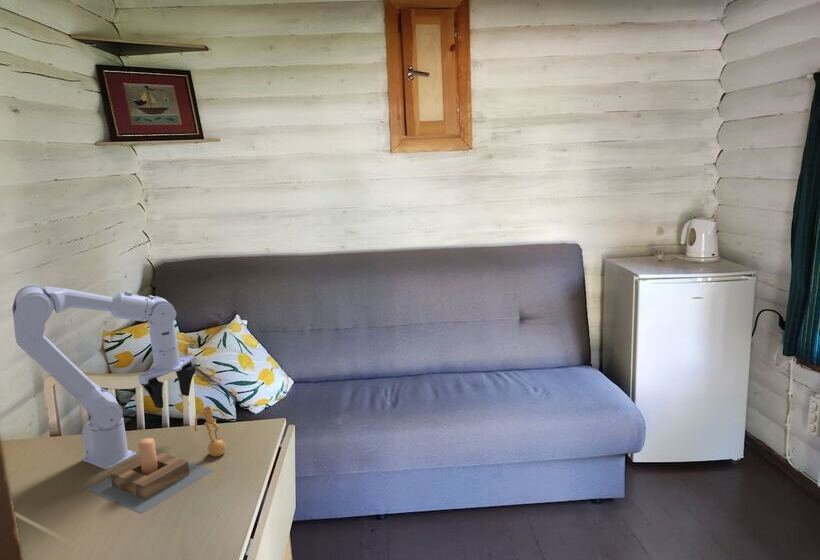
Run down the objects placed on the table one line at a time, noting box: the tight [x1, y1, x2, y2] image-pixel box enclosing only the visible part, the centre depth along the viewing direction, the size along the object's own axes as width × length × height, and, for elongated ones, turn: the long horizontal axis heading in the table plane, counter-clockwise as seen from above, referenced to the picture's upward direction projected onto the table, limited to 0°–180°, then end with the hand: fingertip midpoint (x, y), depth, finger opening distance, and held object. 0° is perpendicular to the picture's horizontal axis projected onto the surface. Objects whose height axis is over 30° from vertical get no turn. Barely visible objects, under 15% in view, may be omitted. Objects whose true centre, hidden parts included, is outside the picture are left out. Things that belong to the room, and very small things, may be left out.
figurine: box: [194, 405, 228, 458], centre depth 139 cm, size 8×6×12 cm
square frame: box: [109, 450, 189, 500], centre depth 128 cm, size 11×11×3 cm
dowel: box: [137, 437, 158, 476], centre depth 128 cm, size 3×3×9 cm
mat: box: [86, 461, 214, 515], centre depth 129 cm, size 18×18×1 cm
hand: (172, 401), depth 145 cm, fingers open, 7 cm apart
